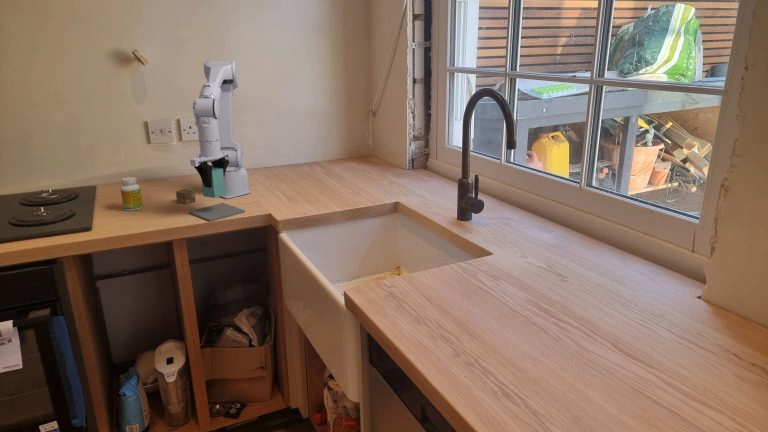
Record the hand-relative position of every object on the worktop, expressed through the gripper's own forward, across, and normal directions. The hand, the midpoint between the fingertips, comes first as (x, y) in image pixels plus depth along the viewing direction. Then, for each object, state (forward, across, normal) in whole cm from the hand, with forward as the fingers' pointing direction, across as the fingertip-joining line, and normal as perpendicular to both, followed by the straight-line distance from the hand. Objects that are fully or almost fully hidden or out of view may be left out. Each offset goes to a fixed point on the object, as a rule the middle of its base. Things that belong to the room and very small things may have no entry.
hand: (214, 185), depth 156 cm
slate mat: (+9, 0, 0) cm, 9 cm away
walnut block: (+9, -4, -17) cm, 19 cm away
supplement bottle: (+9, +8, -26) cm, 29 cm away
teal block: (+3, 0, 0) cm, 3 cm away
